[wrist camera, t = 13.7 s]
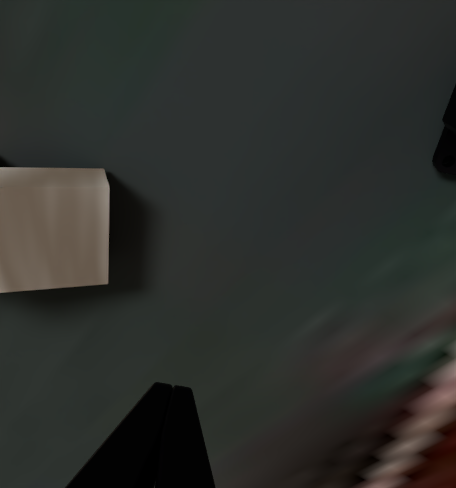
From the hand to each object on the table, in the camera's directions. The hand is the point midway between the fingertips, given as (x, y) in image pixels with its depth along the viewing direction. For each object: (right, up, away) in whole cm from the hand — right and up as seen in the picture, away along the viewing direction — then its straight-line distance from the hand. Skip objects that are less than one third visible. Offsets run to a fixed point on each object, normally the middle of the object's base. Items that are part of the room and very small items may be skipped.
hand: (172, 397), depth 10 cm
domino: (-4, +4, +10) cm, 11 cm away
